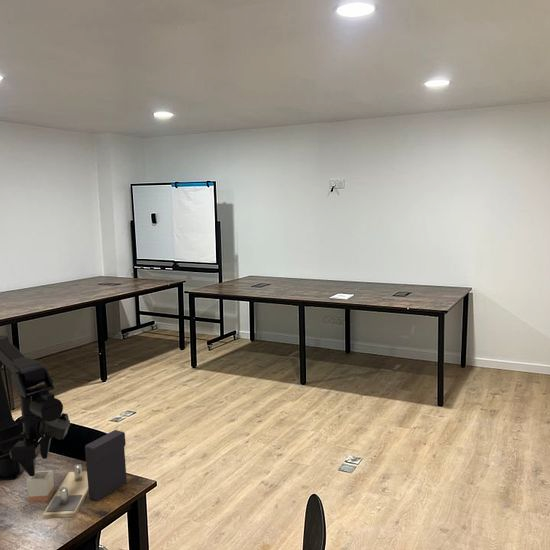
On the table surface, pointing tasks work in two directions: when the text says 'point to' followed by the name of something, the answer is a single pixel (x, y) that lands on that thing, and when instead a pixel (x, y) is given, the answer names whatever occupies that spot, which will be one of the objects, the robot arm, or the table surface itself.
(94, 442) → the upright charcoal slab
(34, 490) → the sleeve
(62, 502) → the pins
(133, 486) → the table surface
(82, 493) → the pin board
